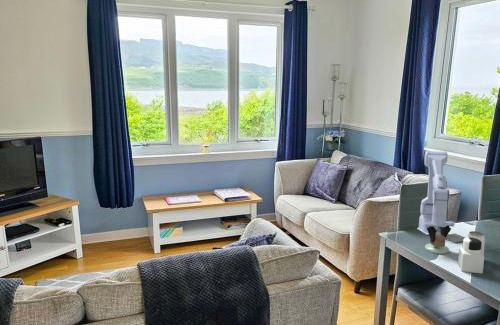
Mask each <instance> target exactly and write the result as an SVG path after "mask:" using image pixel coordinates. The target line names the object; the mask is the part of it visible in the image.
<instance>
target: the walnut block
mask: <svg viewBox="0 0 500 325" xmlns="http://www.w3.org/2000/svg"><path fill="white" fill-rule="evenodd" d="M446 240H447V239H446V237H444V236H442V235H441V234H436V235H435V241H434V243H433V242H431V241H430V240H429V241H430V242H429V243H430V244H432V245H433V246H435V247H445V246H446Z"/></svg>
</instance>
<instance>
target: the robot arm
mask: <svg viewBox="0 0 500 325" xmlns="http://www.w3.org/2000/svg"><path fill="white" fill-rule="evenodd" d="M447 162H448V152H447V151H446V150H445V151H438V150H436V151H435V150H433V151H431V150H430V151H429V150H426V151H425V152H424V166H425V167H427V168H428V177H427V178H428V180H427V193H426V194H427V195H426V197H425V198H423V199H421V202H420V203H421V204H420V209H419V210H420V216H419V218H418V227H417V230H418V231H420V232H422V234H425V235H427V236H429V241H431V242H433V243H434V241H435V235H436V234H441V235H442V236H444V237H446V236H447V235H448V234H449V233H450V231H451V230H452V228H451V227H455V221H451V220H449V221H447V214H448V213H447V212H448V211H447V210H448V201H450V197H451V195H450V193H451V192H450V188H449V187H448V185H447V177H446V176H445V175H444V166H445V165H446V164H447ZM438 228H439V230H440V231H438Z"/></svg>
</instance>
